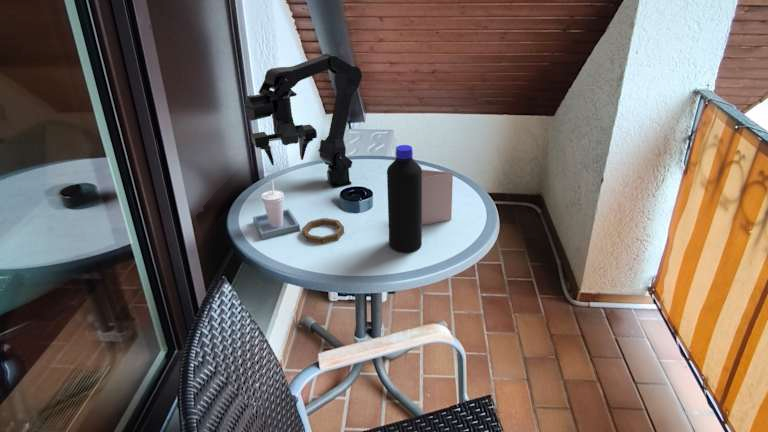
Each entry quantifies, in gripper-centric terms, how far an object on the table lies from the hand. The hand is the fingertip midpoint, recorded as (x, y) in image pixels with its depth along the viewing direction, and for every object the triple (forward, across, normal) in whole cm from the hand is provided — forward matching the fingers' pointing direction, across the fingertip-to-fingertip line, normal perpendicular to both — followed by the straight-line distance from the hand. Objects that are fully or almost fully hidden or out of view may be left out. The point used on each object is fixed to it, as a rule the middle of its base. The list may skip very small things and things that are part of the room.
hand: (287, 162), depth 167 cm
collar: (+13, +2, -25) cm, 28 cm away
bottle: (+13, +20, -41) cm, 47 cm away
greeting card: (+13, +32, -33) cm, 48 cm away
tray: (+13, -9, -15) cm, 22 cm away
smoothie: (+13, -9, -15) cm, 21 cm away
